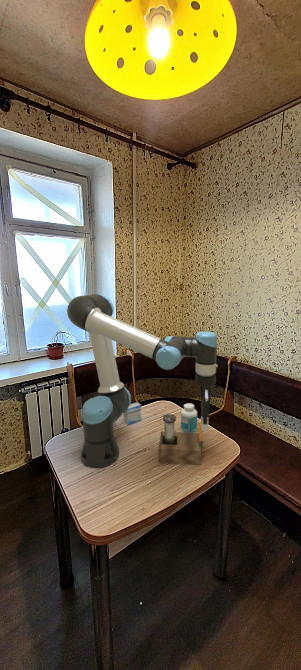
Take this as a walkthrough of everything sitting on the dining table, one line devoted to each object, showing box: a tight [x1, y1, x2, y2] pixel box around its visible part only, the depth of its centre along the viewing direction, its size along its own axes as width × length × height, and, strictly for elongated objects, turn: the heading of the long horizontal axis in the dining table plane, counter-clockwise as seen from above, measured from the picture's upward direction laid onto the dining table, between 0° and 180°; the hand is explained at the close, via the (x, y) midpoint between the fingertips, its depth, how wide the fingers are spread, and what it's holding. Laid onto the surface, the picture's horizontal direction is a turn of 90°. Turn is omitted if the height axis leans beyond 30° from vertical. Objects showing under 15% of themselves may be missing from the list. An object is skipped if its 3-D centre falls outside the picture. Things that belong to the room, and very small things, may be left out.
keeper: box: [197, 421, 204, 442], centre depth 107 cm, size 6×4×1 cm
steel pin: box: [162, 413, 177, 445], centre depth 109 cm, size 5×5×16 cm
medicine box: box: [123, 402, 142, 426], centre depth 135 cm, size 8×4×9 cm, turn 123°
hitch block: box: [158, 430, 204, 466], centre depth 109 cm, size 17×12×8 cm
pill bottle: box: [180, 402, 198, 433], centre depth 124 cm, size 8×7×14 cm
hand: (204, 429), depth 107 cm, fingers closed
